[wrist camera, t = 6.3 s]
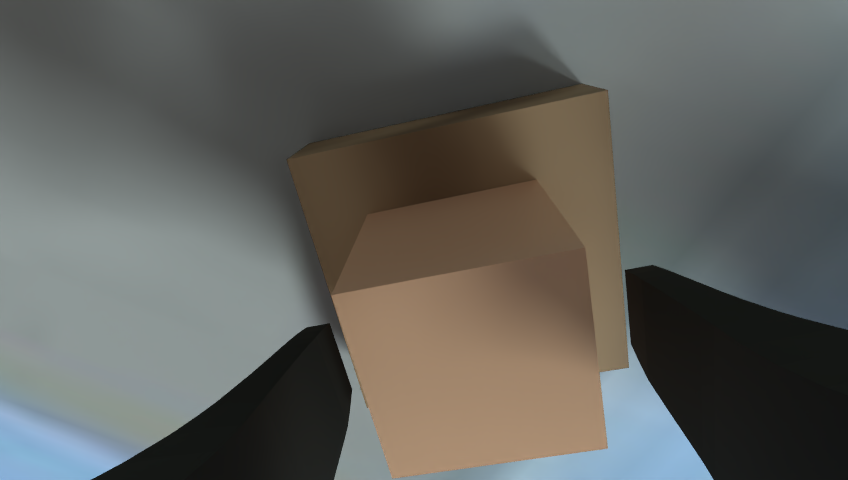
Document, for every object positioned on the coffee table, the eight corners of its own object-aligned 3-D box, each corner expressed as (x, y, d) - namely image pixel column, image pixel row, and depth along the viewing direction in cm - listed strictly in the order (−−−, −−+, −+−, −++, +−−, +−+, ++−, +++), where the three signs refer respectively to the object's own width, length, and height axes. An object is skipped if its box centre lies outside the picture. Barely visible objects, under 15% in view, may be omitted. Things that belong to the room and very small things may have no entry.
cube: (536, 179, 14) (585, 247, 9) (557, 327, 15) (607, 448, 11) (367, 214, 14) (331, 295, 10) (406, 353, 16) (392, 478, 11)
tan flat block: (577, 82, 15) (607, 89, 13) (601, 320, 19) (628, 367, 16) (312, 140, 16) (286, 159, 14) (377, 357, 20) (367, 407, 17)
